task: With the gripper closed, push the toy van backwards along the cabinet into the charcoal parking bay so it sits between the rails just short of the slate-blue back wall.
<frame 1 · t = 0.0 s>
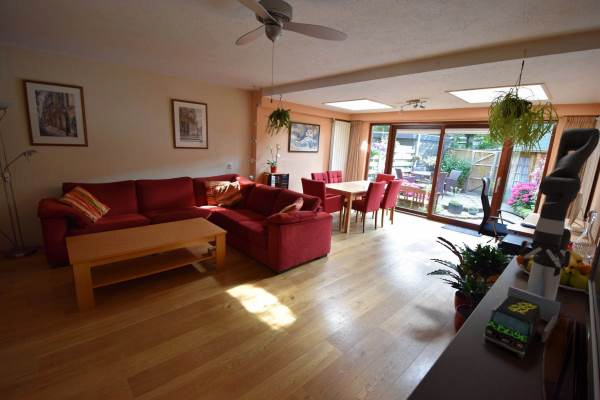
hand: (539, 271, 102), 17 cm above the cabinet, tool pointing down, fingers open, 8 cm apart
toy van: (511, 336, 90), on the cabinet
parking bay: (522, 321, 99), on the cabinet
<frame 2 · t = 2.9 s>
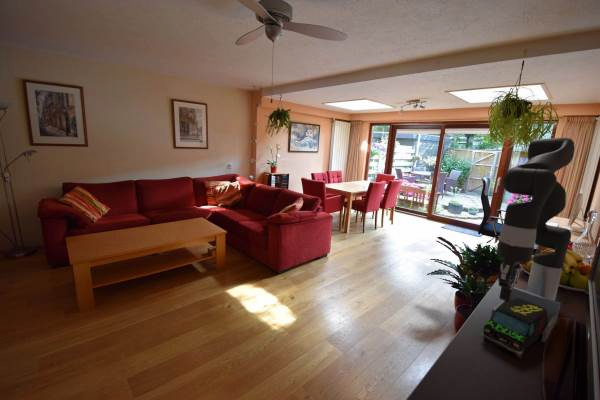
hand: (504, 299, 76), 19 cm above the cabinet, tool pointing down, fingers closed
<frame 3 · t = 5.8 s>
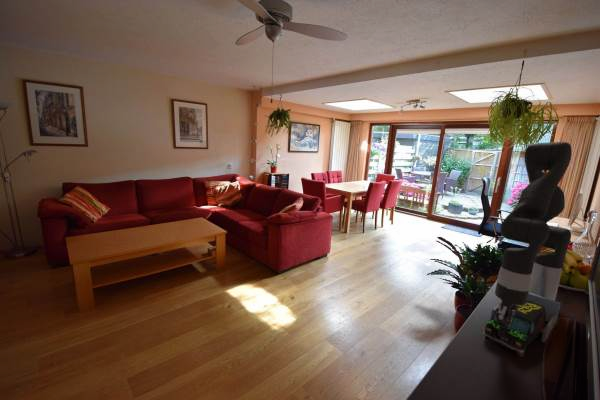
hand: (502, 336, 81), 5 cm above the cabinet, tool pointing down, fingers closed
toy van: (513, 336, 90), on the cabinet, touching gripper
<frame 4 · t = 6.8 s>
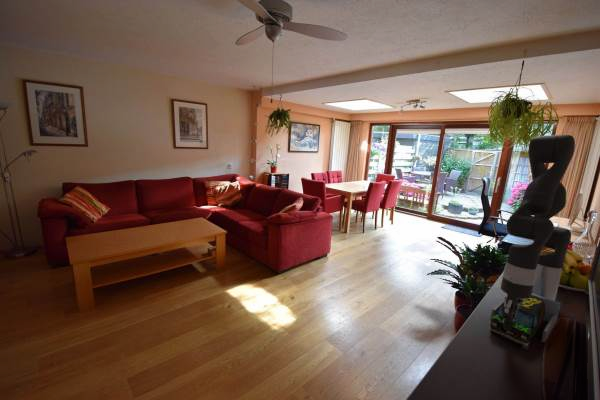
hand: (507, 329, 85), 5 cm above the cabinet, tool pointing down, fingers closed
toy van: (516, 329, 94), on the cabinet, touching gripper
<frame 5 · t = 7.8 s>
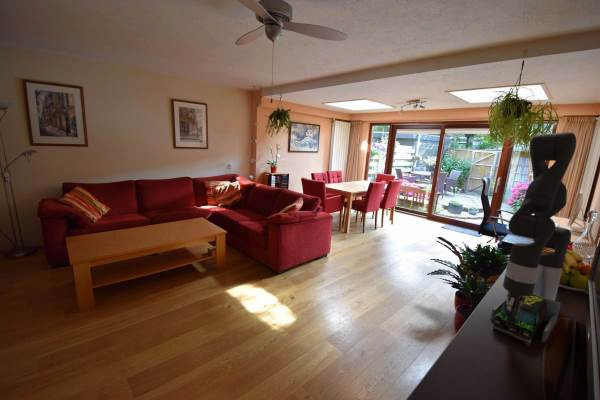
hand: (509, 326, 86), 5 cm above the cabinet, tool pointing down, fingers closed
toy van: (518, 327, 95), on the cabinet, touching gripper
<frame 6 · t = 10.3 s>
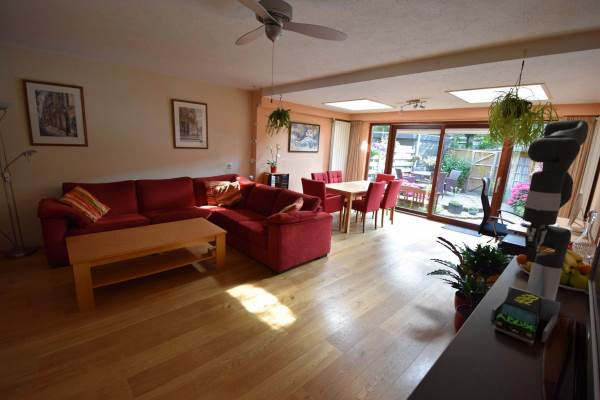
hand: (530, 261, 82), 28 cm above the cabinet, tool pointing down, fingers closed
toy van: (516, 326, 96), on the cabinet
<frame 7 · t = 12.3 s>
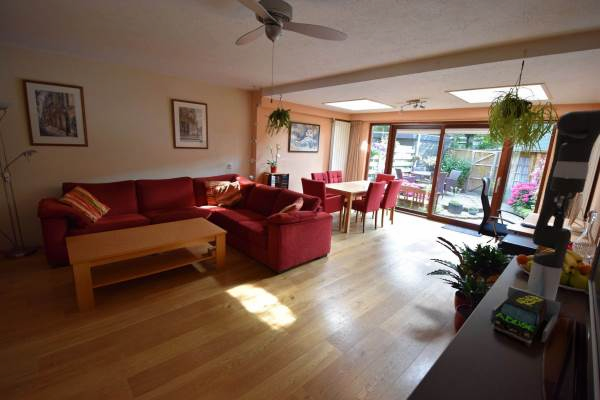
hand: (557, 229, 87), 37 cm above the cabinet, tool pointing down, fingers closed
at the end: toy van inside the target area (0.4 cm from its centre), on the cabinet; toy van tilted 0°; toy van moved 8.6 cm from its start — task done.
